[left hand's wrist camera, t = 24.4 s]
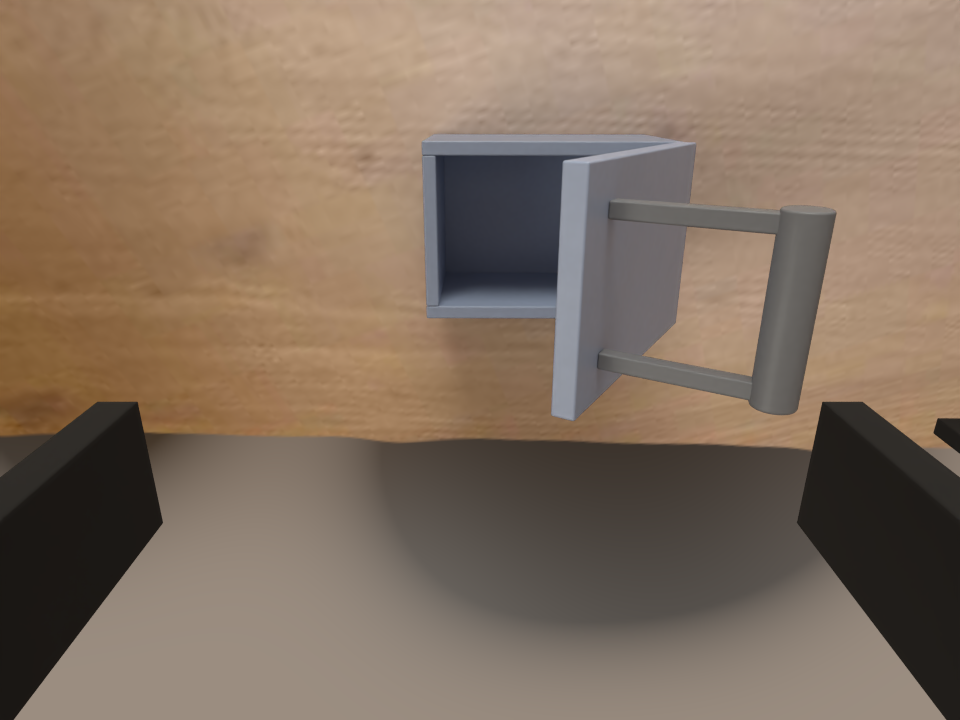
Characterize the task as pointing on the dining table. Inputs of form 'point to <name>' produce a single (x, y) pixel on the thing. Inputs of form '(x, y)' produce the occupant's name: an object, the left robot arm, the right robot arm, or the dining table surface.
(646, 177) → the door
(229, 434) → the dining table surface
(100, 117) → the dining table surface
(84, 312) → the dining table surface
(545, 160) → the chest
